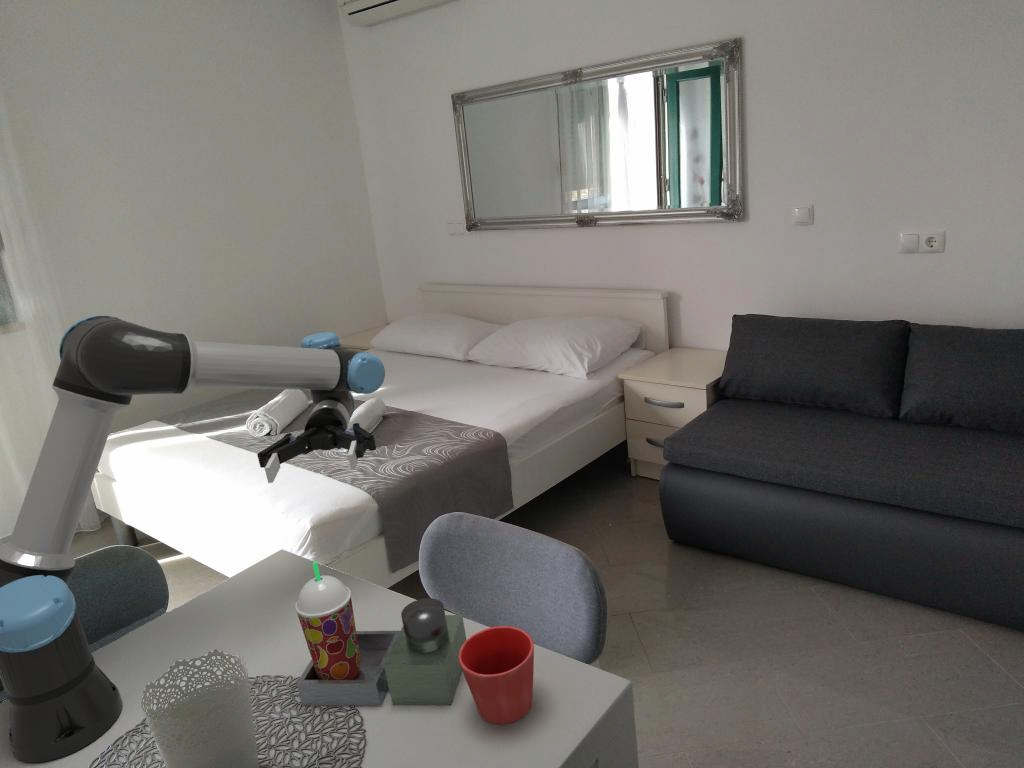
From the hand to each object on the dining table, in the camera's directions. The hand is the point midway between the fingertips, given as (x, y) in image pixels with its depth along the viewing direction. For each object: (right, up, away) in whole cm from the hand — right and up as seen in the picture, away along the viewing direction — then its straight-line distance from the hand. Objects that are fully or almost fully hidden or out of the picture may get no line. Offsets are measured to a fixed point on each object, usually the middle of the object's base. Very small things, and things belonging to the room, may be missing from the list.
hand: (310, 469), depth 125 cm
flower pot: (+32, -32, -16) cm, 48 cm away
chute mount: (+14, -32, -6) cm, 35 cm away
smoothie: (+6, -32, -6) cm, 33 cm away
